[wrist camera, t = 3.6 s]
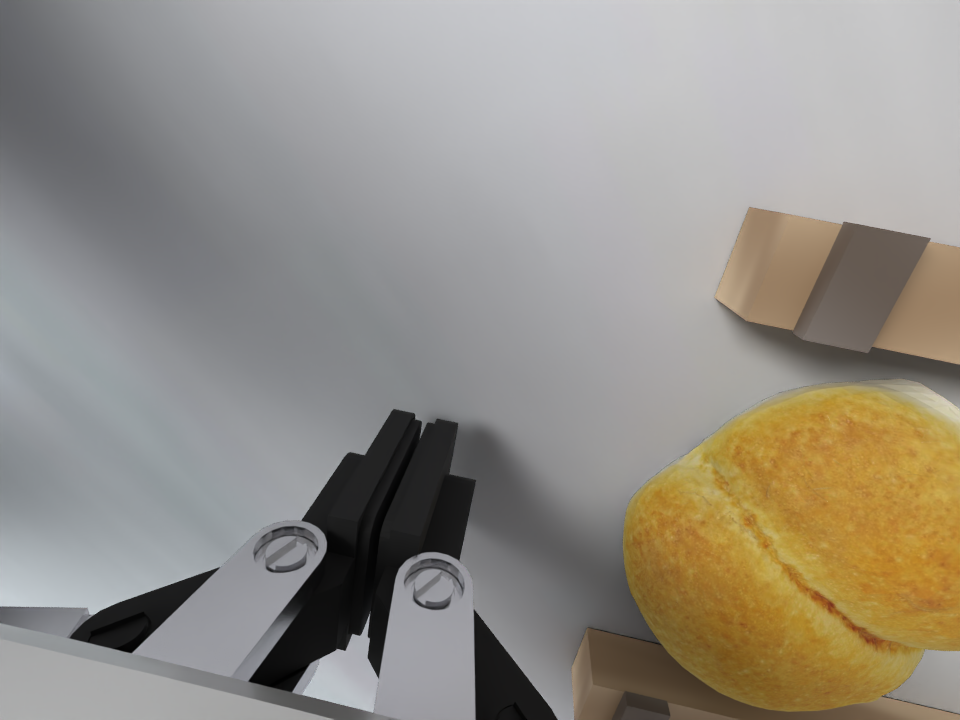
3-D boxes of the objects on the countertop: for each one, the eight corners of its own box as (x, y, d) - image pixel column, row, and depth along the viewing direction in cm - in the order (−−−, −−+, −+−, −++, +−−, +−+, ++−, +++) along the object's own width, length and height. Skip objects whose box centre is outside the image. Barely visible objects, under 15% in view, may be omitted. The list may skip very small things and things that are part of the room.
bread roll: (562, 525, 14) (570, 653, 10) (837, 307, 11) (989, 378, 7) (750, 672, 15) (815, 832, 12) (1045, 516, 12) (1265, 668, 8)
